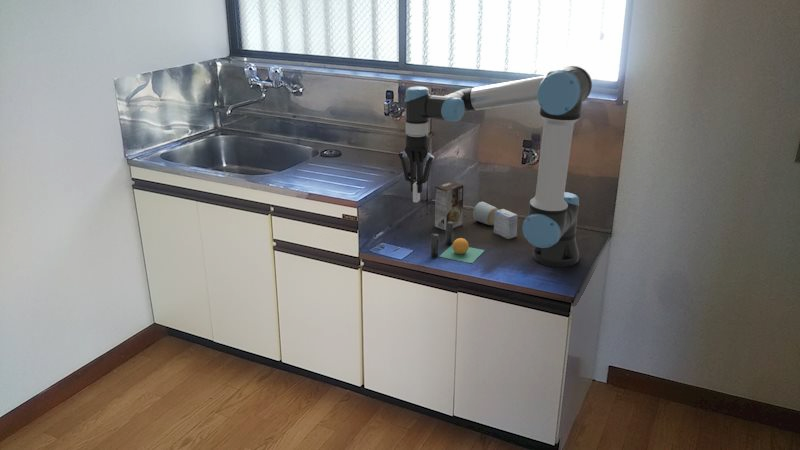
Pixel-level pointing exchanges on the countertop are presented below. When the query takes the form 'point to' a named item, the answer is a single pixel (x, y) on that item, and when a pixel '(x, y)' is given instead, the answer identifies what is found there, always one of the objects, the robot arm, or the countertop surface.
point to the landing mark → (466, 257)
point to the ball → (460, 246)
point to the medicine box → (505, 223)
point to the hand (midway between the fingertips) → (416, 201)
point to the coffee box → (448, 204)
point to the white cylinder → (484, 213)
